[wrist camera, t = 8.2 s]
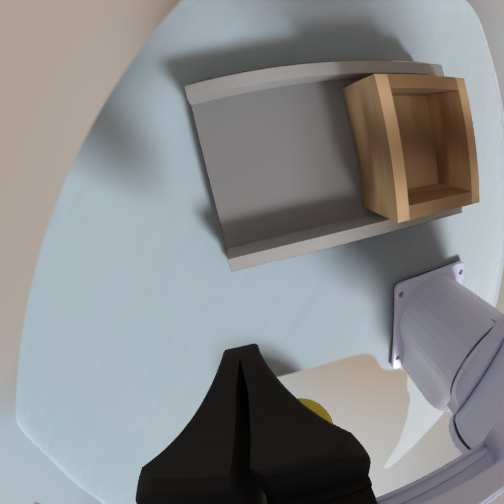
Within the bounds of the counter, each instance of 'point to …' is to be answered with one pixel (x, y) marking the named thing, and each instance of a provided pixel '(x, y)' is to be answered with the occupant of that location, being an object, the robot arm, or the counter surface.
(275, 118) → the bay
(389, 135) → the crate
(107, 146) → the counter surface
